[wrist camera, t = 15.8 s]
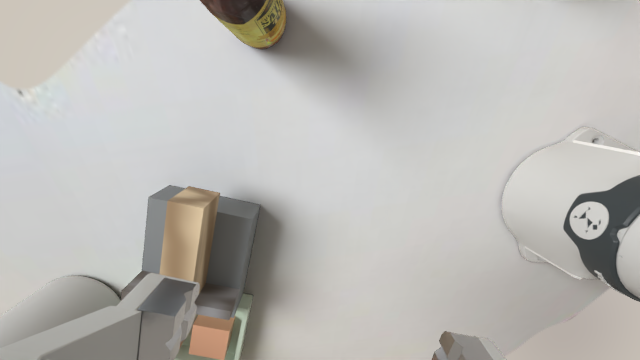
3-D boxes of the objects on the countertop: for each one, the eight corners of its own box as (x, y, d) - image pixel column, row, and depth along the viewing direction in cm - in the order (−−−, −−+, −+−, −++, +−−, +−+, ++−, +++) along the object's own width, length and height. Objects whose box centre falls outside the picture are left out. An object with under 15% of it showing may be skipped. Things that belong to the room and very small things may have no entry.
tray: (253, 295, 43) (248, 309, 40) (241, 355, 46) (235, 372, 43) (148, 275, 42) (136, 288, 39) (142, 337, 45) (130, 354, 42)
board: (260, 204, 39) (252, 219, 34) (243, 293, 43) (233, 317, 38) (169, 185, 38) (148, 197, 34) (159, 277, 42) (139, 300, 37)
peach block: (224, 360, 42) (230, 343, 44) (229, 331, 40) (235, 316, 43) (188, 353, 41) (196, 337, 44) (193, 324, 40) (201, 309, 43)
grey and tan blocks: (256, 200, 34) (246, 217, 29) (238, 297, 37) (226, 326, 32) (151, 177, 33) (122, 191, 28) (141, 278, 36) (114, 306, 32)
